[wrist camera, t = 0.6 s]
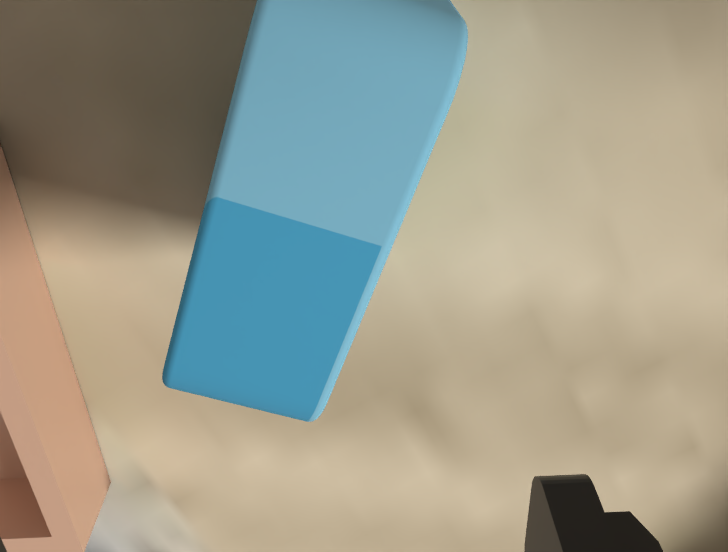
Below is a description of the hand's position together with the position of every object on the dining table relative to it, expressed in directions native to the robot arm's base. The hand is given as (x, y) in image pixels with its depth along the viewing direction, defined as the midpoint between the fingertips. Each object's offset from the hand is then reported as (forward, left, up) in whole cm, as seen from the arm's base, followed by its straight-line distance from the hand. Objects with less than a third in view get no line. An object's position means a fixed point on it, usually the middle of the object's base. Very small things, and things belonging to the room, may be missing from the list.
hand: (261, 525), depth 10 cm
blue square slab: (0, 0, -20) cm, 20 cm away
